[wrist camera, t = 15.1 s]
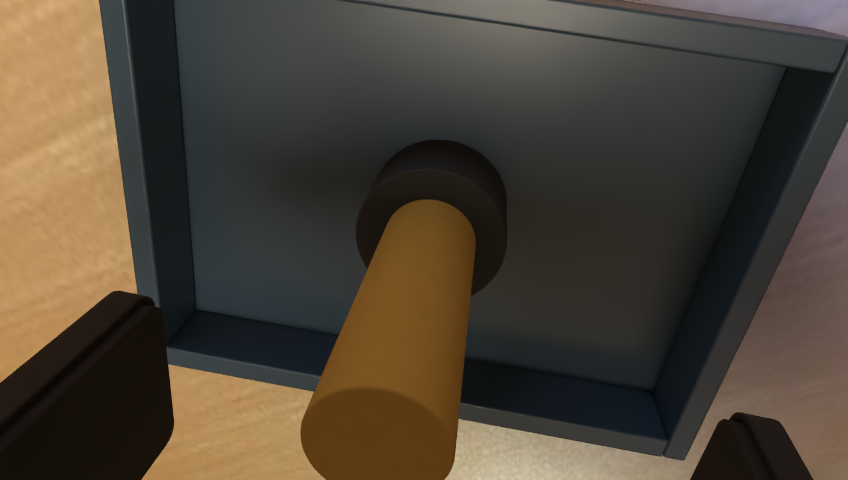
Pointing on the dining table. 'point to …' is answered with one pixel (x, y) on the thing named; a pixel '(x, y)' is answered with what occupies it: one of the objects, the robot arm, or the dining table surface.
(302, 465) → the dining table surface
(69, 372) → the robot arm
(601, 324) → the basin tray
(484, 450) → the dining table surface
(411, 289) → the plug
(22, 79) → the dining table surface
